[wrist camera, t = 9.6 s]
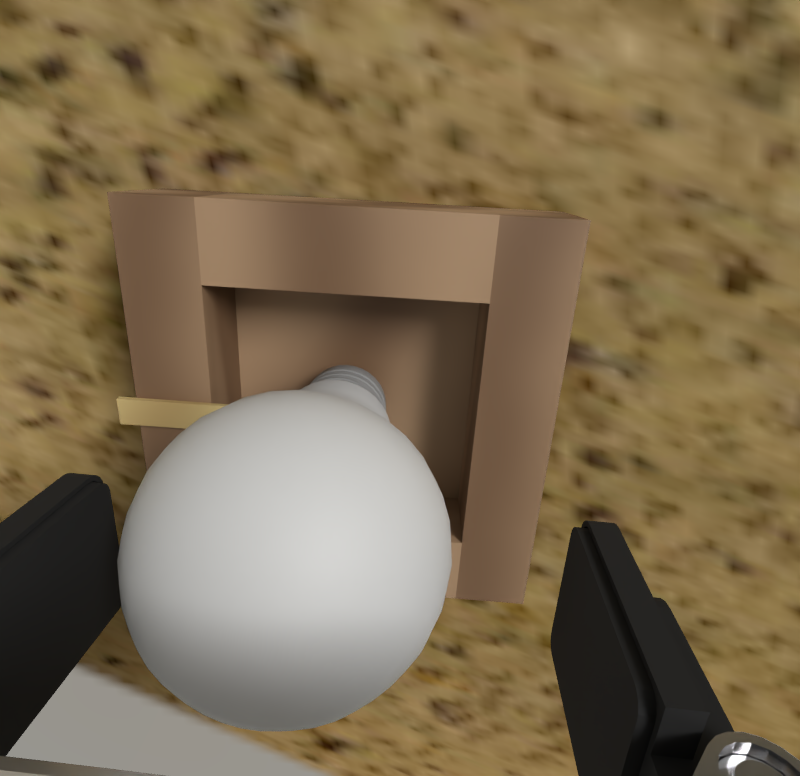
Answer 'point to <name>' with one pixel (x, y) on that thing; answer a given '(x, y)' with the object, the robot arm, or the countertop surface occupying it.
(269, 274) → the socket block
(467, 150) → the countertop surface
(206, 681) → the lightbulb
